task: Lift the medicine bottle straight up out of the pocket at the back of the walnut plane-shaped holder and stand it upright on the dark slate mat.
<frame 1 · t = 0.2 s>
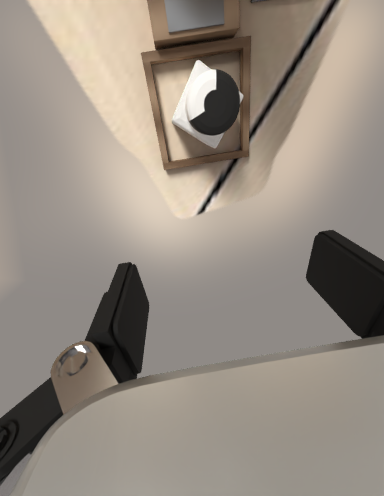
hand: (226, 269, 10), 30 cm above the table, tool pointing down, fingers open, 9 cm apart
medicine bottle: (200, 112, 32), resting in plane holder
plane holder: (200, 112, 32), on the table
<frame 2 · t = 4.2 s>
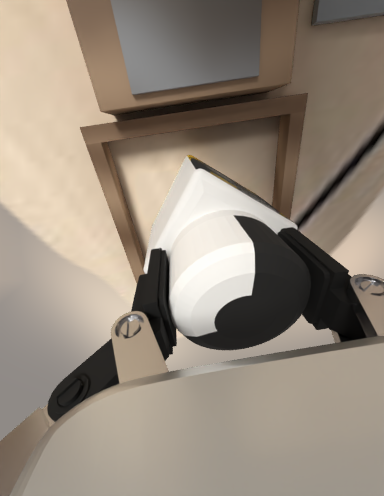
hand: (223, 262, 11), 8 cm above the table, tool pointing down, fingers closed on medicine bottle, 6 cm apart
medicine bottle: (202, 210, 18), resting in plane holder, touching gripper
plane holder: (202, 211, 18), on the table
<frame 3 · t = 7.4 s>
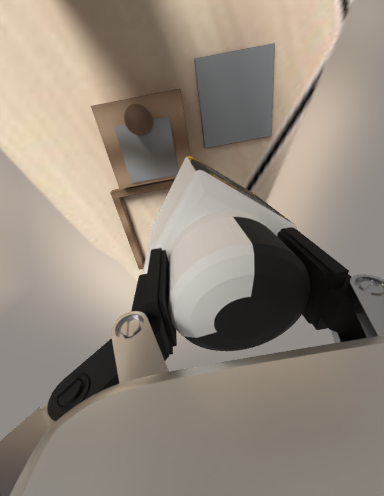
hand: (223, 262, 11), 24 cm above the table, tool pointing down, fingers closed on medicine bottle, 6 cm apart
slate mat: (235, 101, 27), on the table
medicine bottle: (202, 211, 18), point 16 cm above the table, touching gripper
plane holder: (168, 223, 35), on the table
when the fingers open (10 cm above the table, at t = 10.5 s): medicine bottle drops 1 cm, resting on slate mat.
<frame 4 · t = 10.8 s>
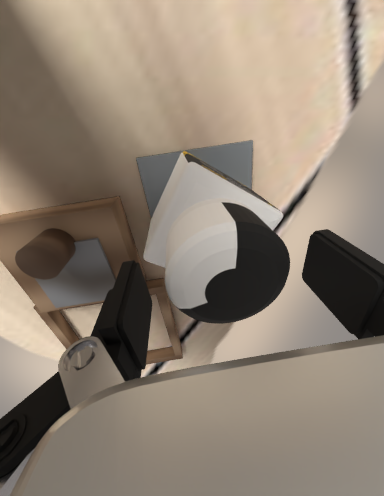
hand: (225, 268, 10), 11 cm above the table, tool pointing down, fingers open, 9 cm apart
slate mat: (200, 204, 20), on the table
medicine bottle: (198, 203, 19), resting on slate mat
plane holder: (121, 327, 28), on the table
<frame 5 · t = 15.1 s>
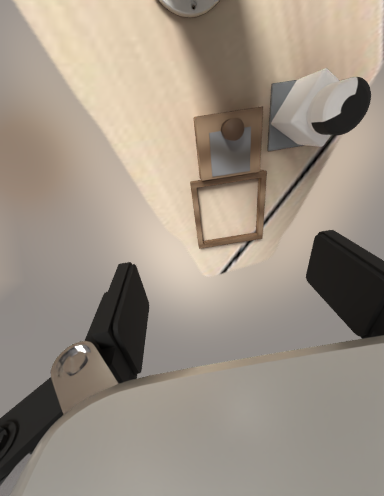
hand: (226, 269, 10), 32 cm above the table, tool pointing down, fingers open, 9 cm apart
slate mat: (296, 115, 35), on the table
medicine bottle: (296, 114, 35), resting on slate mat
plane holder: (228, 211, 43), on the table
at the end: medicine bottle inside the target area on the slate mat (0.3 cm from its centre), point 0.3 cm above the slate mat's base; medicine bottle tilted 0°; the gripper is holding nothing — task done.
